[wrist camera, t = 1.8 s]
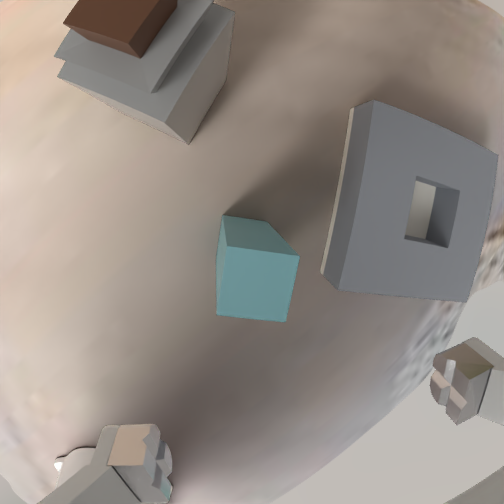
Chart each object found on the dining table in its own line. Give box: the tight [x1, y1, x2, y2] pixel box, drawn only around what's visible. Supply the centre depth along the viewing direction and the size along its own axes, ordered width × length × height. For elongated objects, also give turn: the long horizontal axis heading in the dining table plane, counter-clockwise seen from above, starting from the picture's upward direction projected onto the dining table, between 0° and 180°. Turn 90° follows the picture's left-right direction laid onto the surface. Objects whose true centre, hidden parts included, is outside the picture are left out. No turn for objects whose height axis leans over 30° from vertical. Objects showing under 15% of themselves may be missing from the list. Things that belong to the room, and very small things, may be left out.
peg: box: [216, 215, 300, 322], centre depth 24 cm, size 4×4×12 cm
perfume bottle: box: [54, 0, 235, 145], centre depth 17 cm, size 7×7×18 cm
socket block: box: [320, 100, 498, 302], centre depth 28 cm, size 16×16×5 cm
